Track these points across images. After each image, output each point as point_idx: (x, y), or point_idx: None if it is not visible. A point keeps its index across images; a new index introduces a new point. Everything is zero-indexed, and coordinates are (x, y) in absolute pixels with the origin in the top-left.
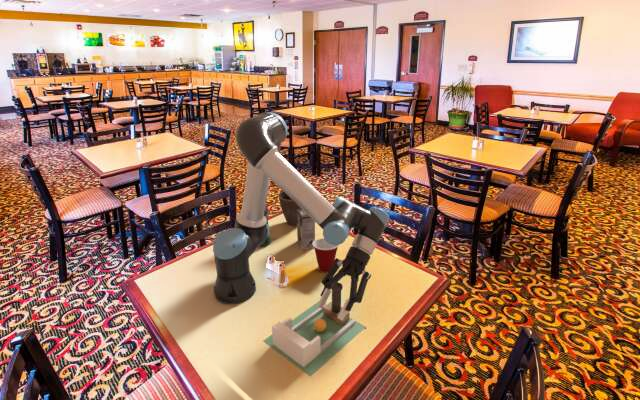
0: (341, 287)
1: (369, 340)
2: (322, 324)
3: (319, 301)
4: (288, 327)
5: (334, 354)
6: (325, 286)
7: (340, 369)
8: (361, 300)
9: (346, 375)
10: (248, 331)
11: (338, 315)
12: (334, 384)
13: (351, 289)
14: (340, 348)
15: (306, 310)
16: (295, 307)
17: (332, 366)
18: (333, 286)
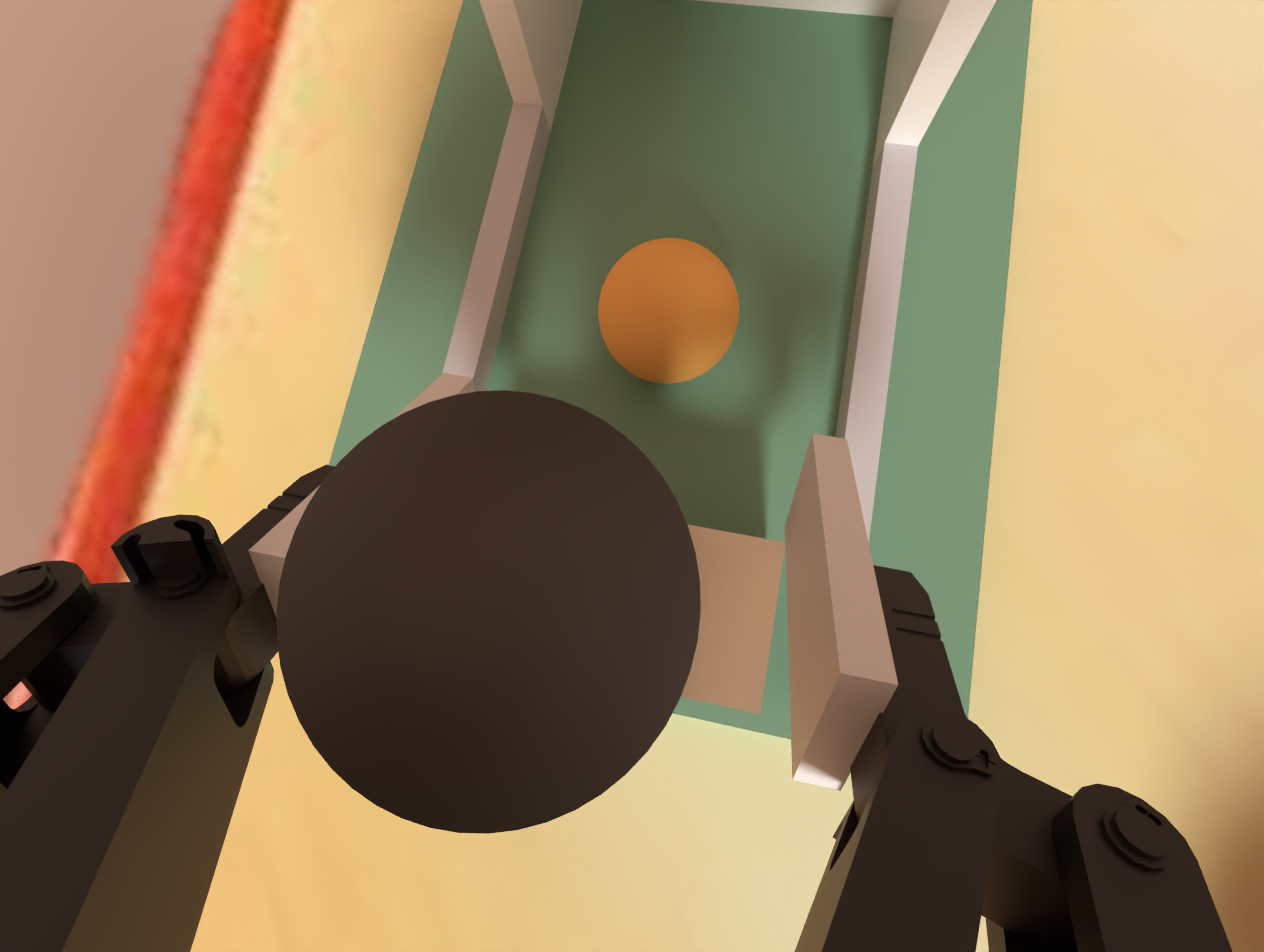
0: (293, 597)
1: (225, 498)
2: (617, 267)
3: (849, 481)
4: (916, 39)
5: (415, 176)
6: (943, 723)
7: (335, 121)
8: (39, 707)
9: (278, 103)
10: (1244, 23)
11: (456, 390)
12: (324, 8)
13: (91, 781)
14: (396, 252)
15: (980, 520)
16: (1134, 530)
17: (398, 112)
18: (561, 502)
